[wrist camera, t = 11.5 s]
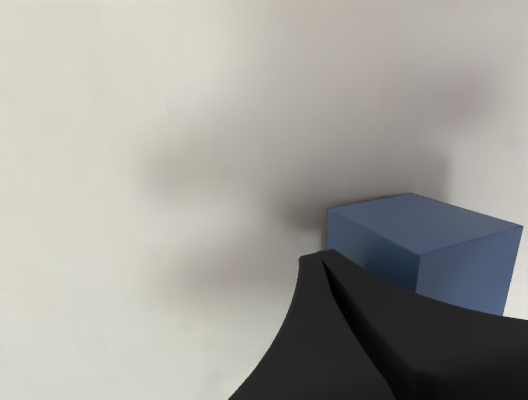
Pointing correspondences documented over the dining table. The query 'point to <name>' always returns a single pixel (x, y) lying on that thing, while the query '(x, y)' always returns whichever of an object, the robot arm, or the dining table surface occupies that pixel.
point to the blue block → (430, 248)
